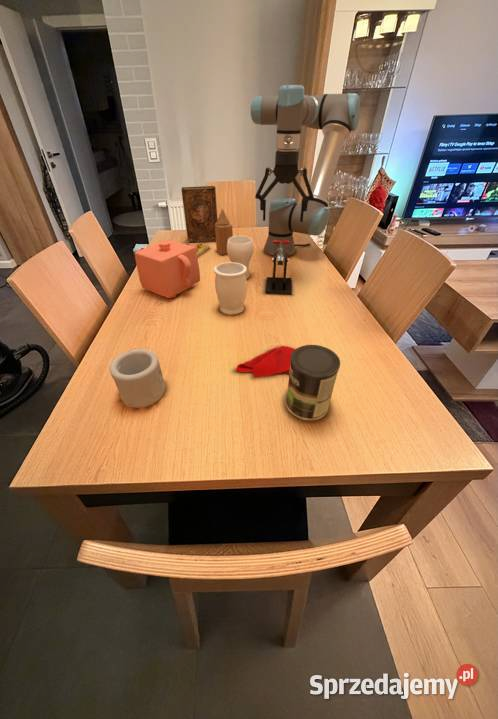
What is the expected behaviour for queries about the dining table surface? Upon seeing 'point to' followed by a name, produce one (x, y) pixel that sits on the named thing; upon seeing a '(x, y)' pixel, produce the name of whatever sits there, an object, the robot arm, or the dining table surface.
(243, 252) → the cup
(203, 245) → the pizza slice
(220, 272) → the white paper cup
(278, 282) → the lever stand
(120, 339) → the dining table surface
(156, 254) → the teapot
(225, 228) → the decorative item
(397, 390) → the dining table surface
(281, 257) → the corkscrew
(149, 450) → the dining table surface
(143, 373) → the grey hollow cylinder
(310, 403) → the coffee can
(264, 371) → the cloth
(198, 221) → the book
